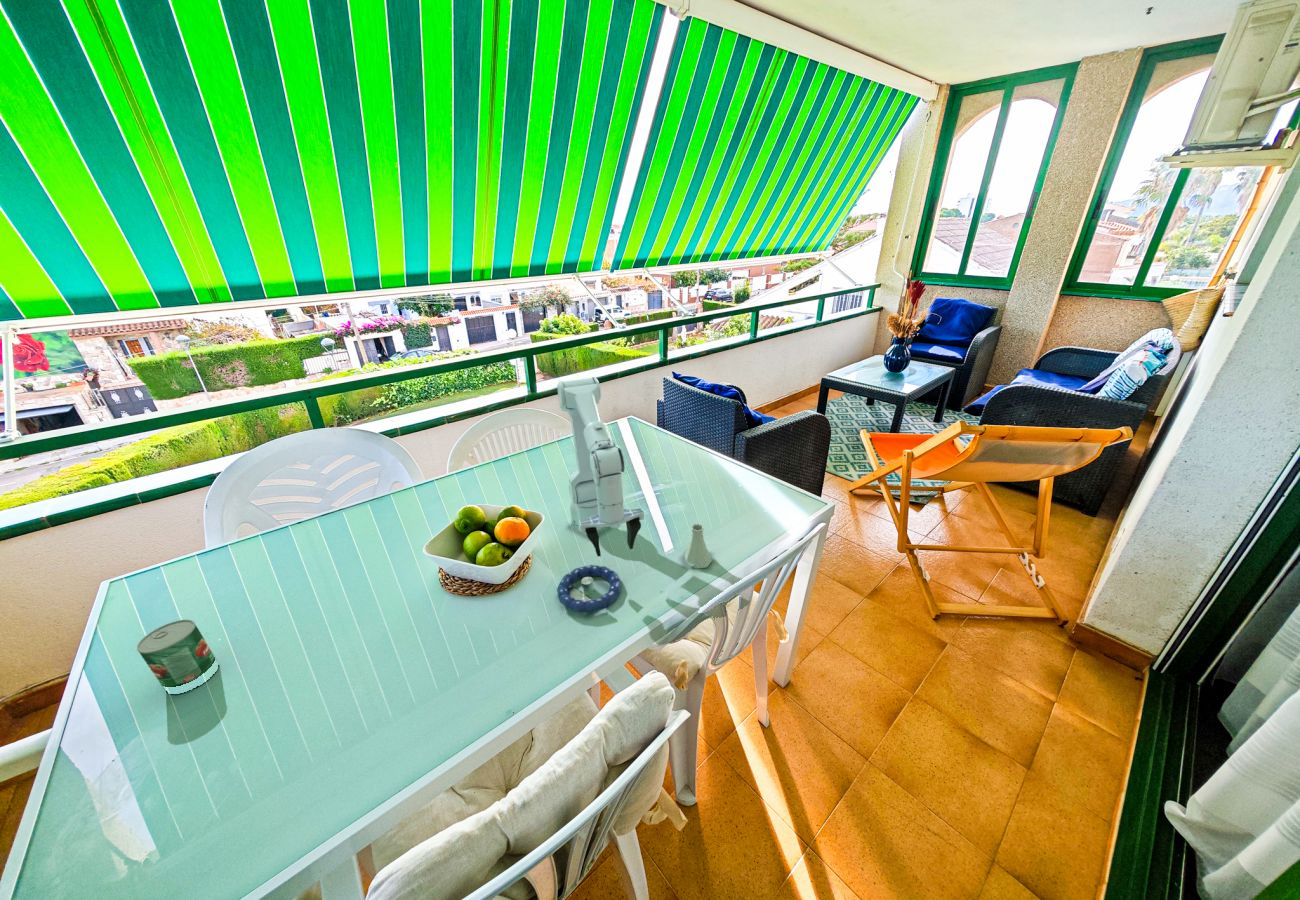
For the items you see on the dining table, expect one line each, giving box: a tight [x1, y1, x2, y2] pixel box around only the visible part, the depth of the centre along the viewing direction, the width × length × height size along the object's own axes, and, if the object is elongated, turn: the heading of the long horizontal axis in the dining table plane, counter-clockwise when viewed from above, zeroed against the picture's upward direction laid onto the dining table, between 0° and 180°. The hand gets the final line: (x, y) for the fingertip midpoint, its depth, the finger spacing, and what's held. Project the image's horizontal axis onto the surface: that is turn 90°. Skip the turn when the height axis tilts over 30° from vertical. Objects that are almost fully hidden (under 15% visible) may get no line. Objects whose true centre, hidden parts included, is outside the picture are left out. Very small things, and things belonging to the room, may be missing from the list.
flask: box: [684, 523, 713, 569], centre depth 114 cm, size 7×7×10 cm
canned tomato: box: [136, 619, 216, 692], centre depth 87 cm, size 8×8×11 cm
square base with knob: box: [568, 576, 595, 616], centre depth 105 cm, size 9×9×4 cm
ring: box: [556, 564, 623, 614], centre depth 105 cm, size 14×14×2 cm
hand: (614, 550), depth 106 cm, fingers open, 7 cm apart
